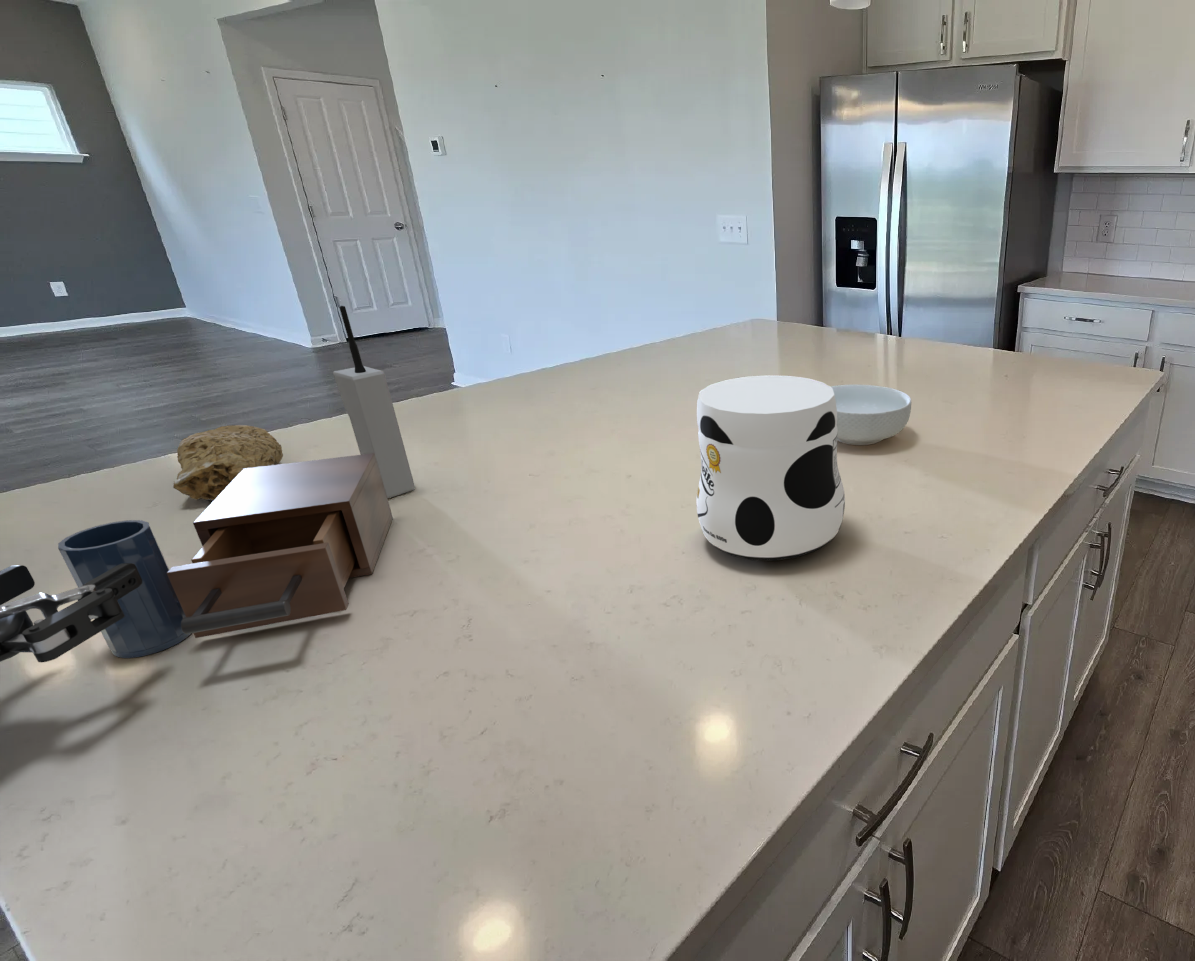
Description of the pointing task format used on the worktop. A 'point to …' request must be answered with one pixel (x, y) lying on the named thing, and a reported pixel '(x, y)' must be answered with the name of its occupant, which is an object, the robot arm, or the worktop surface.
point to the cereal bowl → (869, 413)
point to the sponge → (222, 458)
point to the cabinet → (309, 500)
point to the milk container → (769, 466)
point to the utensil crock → (146, 607)
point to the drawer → (265, 574)
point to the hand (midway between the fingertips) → (80, 573)
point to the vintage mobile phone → (374, 418)
